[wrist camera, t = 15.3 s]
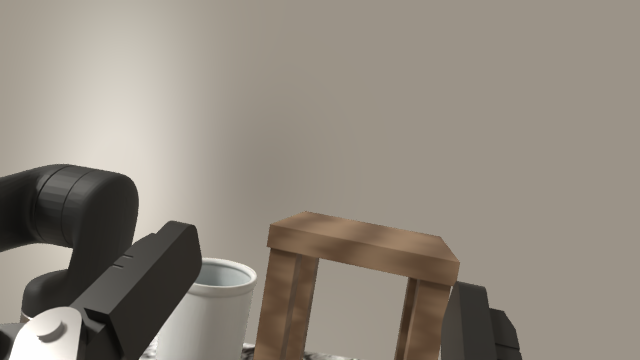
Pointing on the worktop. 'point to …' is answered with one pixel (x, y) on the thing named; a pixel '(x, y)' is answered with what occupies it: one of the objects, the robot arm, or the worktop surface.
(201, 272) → the utensil holder
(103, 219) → the robot arm
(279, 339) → the stool
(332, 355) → the worktop surface
